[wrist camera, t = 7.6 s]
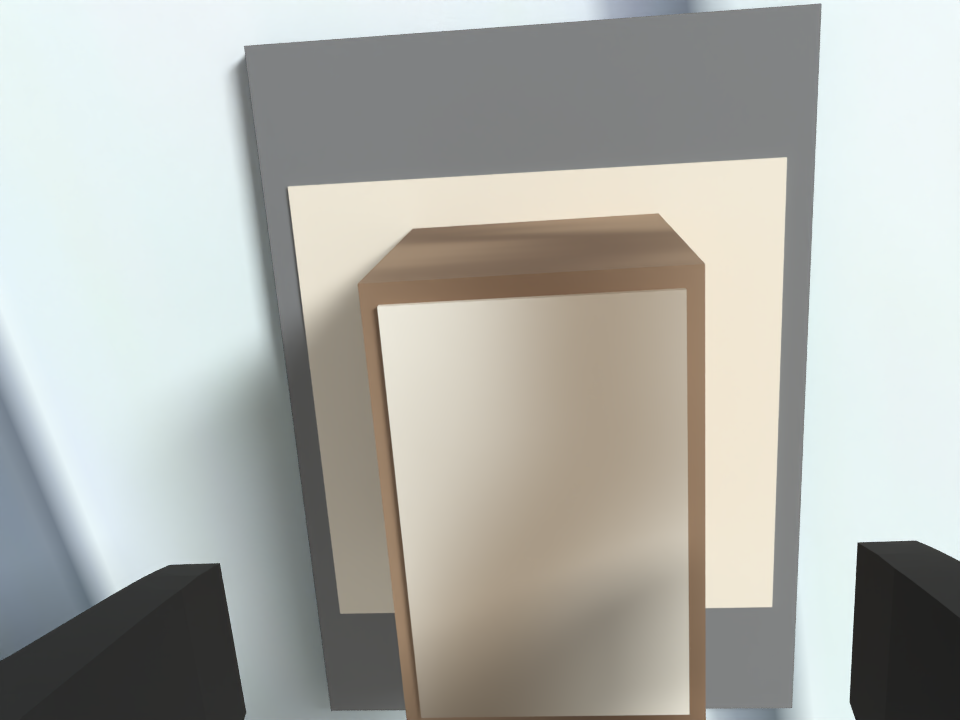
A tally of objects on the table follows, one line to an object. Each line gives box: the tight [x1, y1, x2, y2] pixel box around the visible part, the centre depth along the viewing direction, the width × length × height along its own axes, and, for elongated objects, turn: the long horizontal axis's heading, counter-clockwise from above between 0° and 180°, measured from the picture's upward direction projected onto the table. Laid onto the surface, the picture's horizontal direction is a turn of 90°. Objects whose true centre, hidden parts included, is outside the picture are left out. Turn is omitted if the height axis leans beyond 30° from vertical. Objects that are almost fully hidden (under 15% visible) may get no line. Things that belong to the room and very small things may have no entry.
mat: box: [244, 4, 821, 711], centre depth 18 cm, size 14×10×1 cm
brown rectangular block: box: [358, 213, 706, 720], centre depth 15 cm, size 4×7×5 cm, turn 4°
